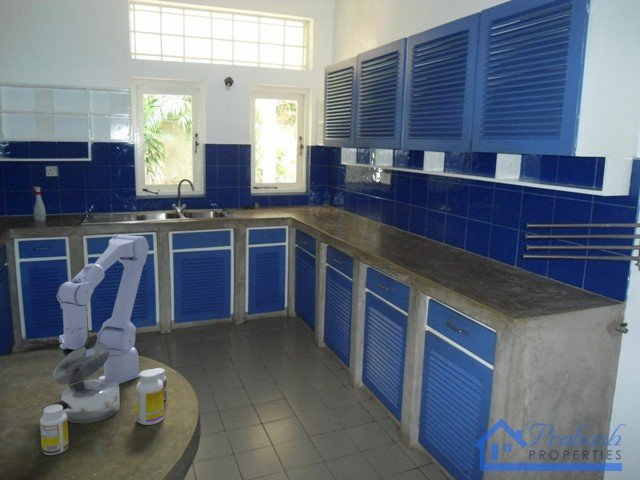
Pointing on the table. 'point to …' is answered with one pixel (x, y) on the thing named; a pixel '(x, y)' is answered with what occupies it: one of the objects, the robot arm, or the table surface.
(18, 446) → the table surface
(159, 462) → the table surface
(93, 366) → the cooker lid
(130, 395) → the table surface
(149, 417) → the supplement bottle
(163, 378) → the pill bottle
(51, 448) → the supplement bottle
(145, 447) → the table surface
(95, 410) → the cooker pot
